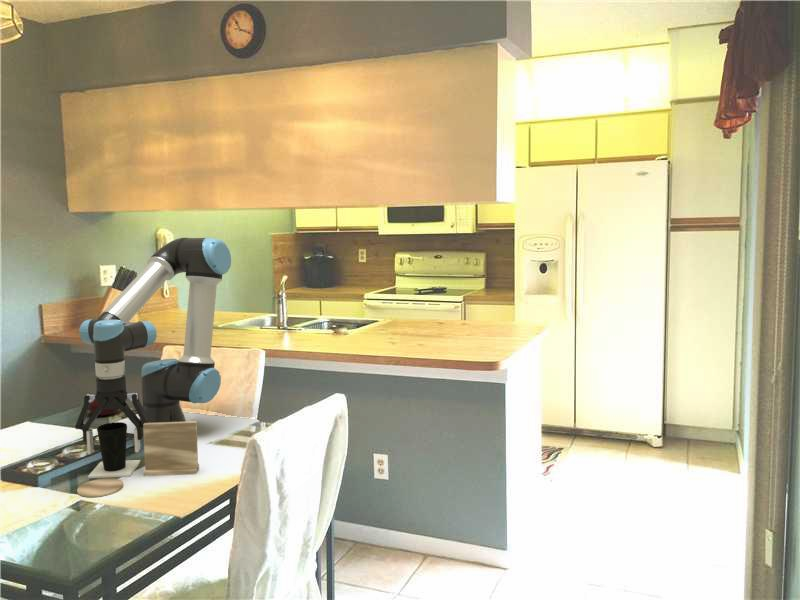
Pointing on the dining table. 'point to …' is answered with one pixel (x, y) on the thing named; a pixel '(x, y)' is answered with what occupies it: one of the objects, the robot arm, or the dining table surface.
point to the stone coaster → (124, 472)
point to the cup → (113, 445)
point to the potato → (103, 412)
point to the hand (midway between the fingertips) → (114, 451)
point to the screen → (170, 448)
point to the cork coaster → (100, 487)
